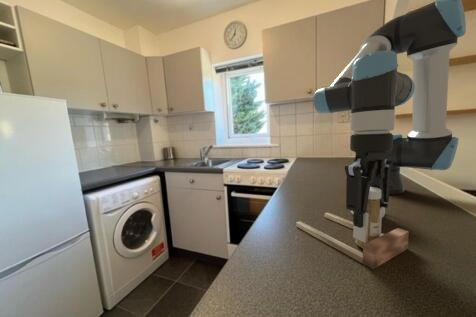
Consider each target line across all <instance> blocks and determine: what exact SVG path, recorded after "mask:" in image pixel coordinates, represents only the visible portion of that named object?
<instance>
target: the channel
mask: <svg viewBox="0 0 476 317" xmlns="http://www.w3.org/2000/svg"><path fill="white" fill-rule="evenodd" d="M323 218H326V219H329V221H330V220H331V221H333V222H335V223H337V224H340V225H342V226H345V227H347V228H349V229H352V230H353V225H354V224H353V221H351V220H348V219H346V218H344V217H341V216H339V215H336V214H334V213H330V212H327V211H326V212H324V217H323ZM295 224H296V225H295V226H296V227H297V228H298V229H301V230H302V231H304V232H306V233H307V234H309V235H310V236H313V237H314V238H316V239H318V240H320V241H321V242H323V243H325V244H326V245H328V246H330V247H332V248H335V249H336V250H338V251H339V252H341V253H343V254H345V255H347V256H348V257H349V258H352V259H354V260H356V261H357V262H359V263H361V264H362V265H365V266H366V267H369V268H370V269H371V270H374V269H376V268H378V267H379V266H381V265H382V264H384V263H386V262H387V261H389V260H391V259H393V258H394V257H396V256H398V255H400V254H401V253H403V252H404V251H407V250H408V248H409V238H410V236H409V235H410V231H409V230H406V229H402V228H399V227H397V228H394V229H392V230H391V231H388V232H386V233H382V232H381V236H379V237H378V238H376V239H374V240H372V241H370V242H368V243H366V244H364V245H363V248H362V252H361V251H359V250H358V249H356V248H353V247H352V246H349V245H348V244H346V243H344V242H342V241H340V240H338V239H336V238H334V237H332V236H330V235H328V234H326V233H324V232H322V231H321V230H319V229H316V228H315V227H313V226H310V225H309V224H306V223H305V222H303V221H300V220H299V221H296V222H295Z"/></svg>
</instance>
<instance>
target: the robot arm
mask: <svg viewBox="0 0 476 317" xmlns="http://www.w3.org/2000/svg"><path fill="white" fill-rule="evenodd" d="M466 24H467V22H466V15H465V9H464V5H463V1H462V0H435V1H433V2H431V3H428V4H427V5H423V6H421V7H419V8H417V9H414V10H412V11H409V12H406V13H404V14H402V15H400V16H396V17H394V18H393V19H391V20H389V21H387V22H386V23H384V24H382V25H381V26H380V27H379V28H377V29H376V30H375V31H373V33H371V34H370V35H369V36H368V37H367V38H366V39H365V40H364V41H363V42H362V44H361V46H360V47H359V51H358V53H357V54H356V55H355V56H354V58H352V60H351V61H350V62H349V63H348V64H347V65H346V66H345V68H344V69H343V70H342V71H341V72H340V74H338V76H337V77H336V79H334V81H333V82H332V83H330V86H324V87H321V88H319V89H317V90H316V91H315V92H314V94H313V100H312V102H313V106H314V110H316V112H317V113H319V114H333V113H341V112H349V111H350V113H351V118H350V131H351V132H352V133H353V134H351V135H350V137H349V138H350V143H349V147H350V148H349V150H350V151H352V152H354V153H355V156H354V159H353V163H352V164H345V166H344V170H345V175H346V187H345V188H346V191H345V192H346V194H345V195H346V196H345V198H346V201H345V205H346V210H348V211H350V210H351V211H353V212H354V215H353V216H352V217H353V221H352V222H353V224H354V225H353V229H352V231H353V234H352V238H354V239H355V240H356V239H358V240H360V241H362V242H364V243H366V242H368V217H369V213H366V208H367V202H368V196H369V191H370V186H371V187H376V188H379V189H381V200H380V212H379V213H380V221H379V236H381V233H382V220H383V218H382V207H384V208H385V209H387V208H388V207H389V204H388V203H389V201H390V195H400V194H404V193H405V185H404V181H403V179H402V178H403V177H402V175H401V168H407V169H408V168H410V169H419V170H420V169H421V170H429V171H447V170H449V169H450V168H451V166H452V165H453V161H454V159H455V156H456V152H457V148H458V144H459V139H460V138H459V137H456V136H453V131H452V130H450V129H449V128H447V112H448V94H449V93H448V92H449V91H448V89H449V70H450V52H451V51H453V50H452V49H454V48H455V47H456V46H457V45H458V38H462V37H463V36H465V34H466V32H467V30H466V29H467V28H466V27H467V26H466ZM403 53H406V58H408V59H410V60H411V61H412V78H411V77H410V76H409V75H408V74H406V73H402V72H400V71H398V67H399V64H398V55H399V54H403ZM410 99H412V117H411V118H412V119H411V120H412V127H411V128H412V129H411V130H410V131H409V132H408V133H406V137H403V135H402V133H399V134H393V133H392V132H391V131H393V130H395V107H400V106H402V105H405V104H406V103H407V102H408V101H410ZM366 177H367V178H366ZM384 202H385V203H384ZM351 211H350V212H351Z"/></svg>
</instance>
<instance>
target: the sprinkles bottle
mask: <svg viewBox="0 0 476 317" xmlns="http://www.w3.org/2000/svg"><path fill="white" fill-rule="evenodd" d="M380 200H381V189H379V188H376V187H371V186H370V191H369V196H368V202H367V208H366V213H369V217H368V242H370V241H372V240H374V239H376V238H378V237H379V221H380V213H379V212H380ZM368 242H366V243H368ZM355 243H356V245H357V246H358V247H359V248H361V249H363V245H364V244H366V243H364V242H362V241H360V240H358V239H356V238H355Z"/></svg>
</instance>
